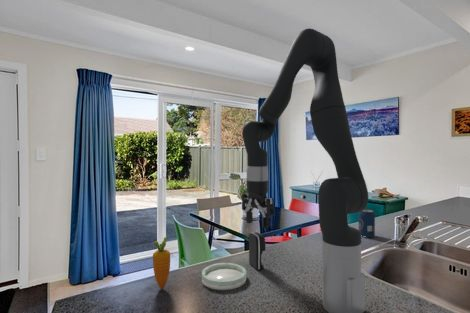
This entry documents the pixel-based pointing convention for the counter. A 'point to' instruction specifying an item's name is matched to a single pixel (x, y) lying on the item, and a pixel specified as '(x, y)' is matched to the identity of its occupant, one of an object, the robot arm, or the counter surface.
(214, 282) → the dish
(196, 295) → the counter surface
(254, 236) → the battery charger
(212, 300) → the counter surface
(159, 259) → the carrot
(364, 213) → the soda can
